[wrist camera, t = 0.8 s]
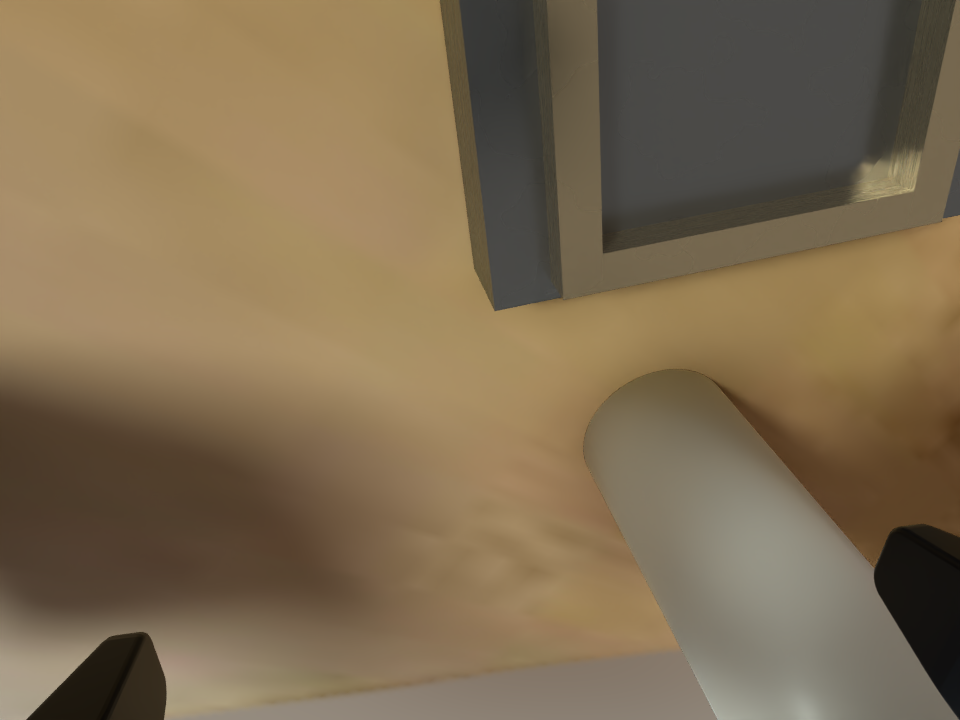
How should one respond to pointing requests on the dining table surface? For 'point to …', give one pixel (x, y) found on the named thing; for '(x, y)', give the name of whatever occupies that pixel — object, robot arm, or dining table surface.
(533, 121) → the grey rectangular tray
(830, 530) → the white canister
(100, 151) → the dining table surface
